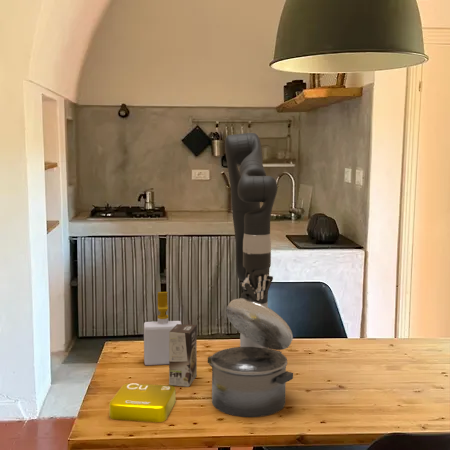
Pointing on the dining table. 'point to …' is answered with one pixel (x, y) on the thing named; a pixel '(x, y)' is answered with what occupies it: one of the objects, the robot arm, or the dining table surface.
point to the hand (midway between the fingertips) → (256, 312)
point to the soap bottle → (158, 335)
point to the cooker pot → (249, 381)
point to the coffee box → (182, 355)
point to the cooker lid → (259, 324)
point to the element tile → (142, 402)
